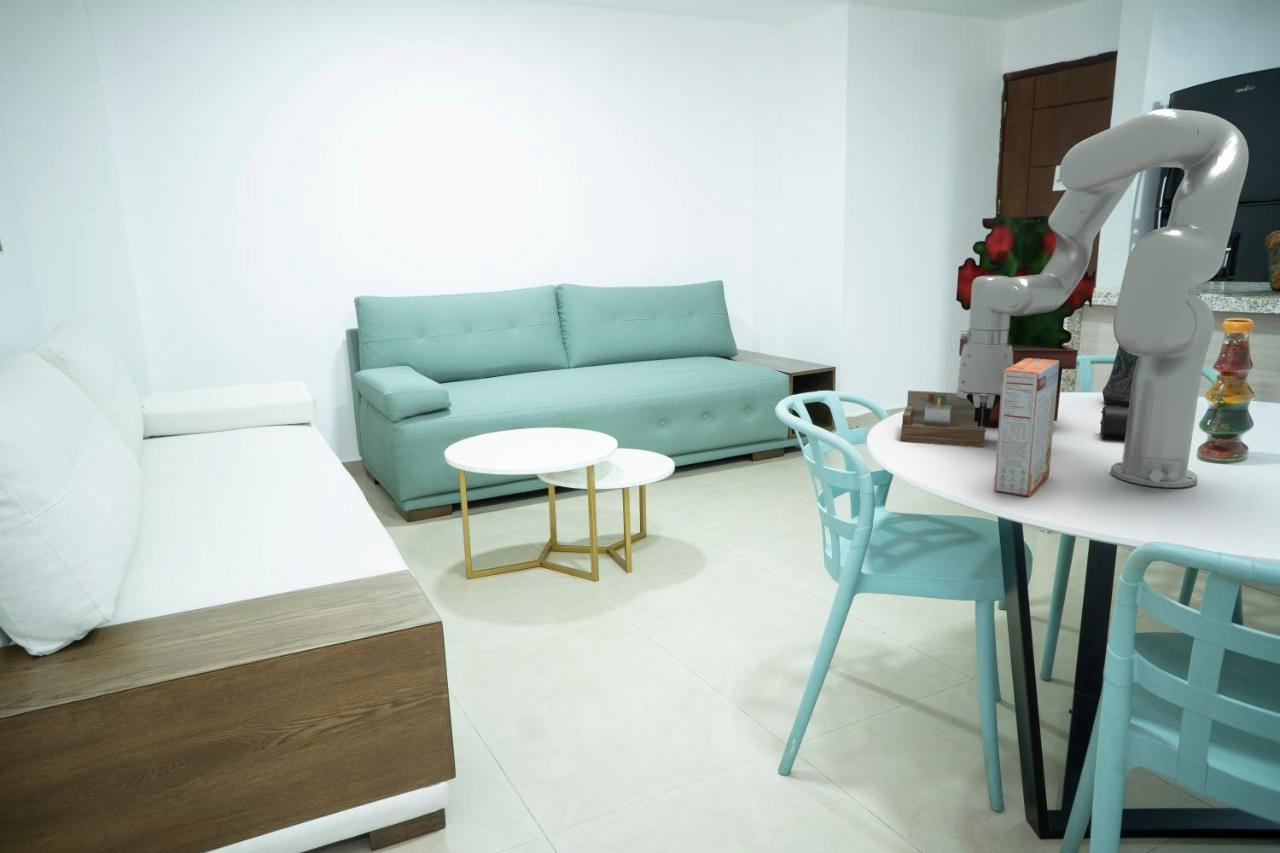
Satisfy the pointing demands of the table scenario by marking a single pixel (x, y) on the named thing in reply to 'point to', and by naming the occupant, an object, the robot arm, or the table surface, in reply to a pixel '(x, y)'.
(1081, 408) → the table surface
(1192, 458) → the table surface
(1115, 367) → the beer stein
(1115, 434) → the end cap
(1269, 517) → the table surface
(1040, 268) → the potted plant
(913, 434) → the wooden toy tray
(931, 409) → the white block with knob
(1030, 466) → the cracker box
